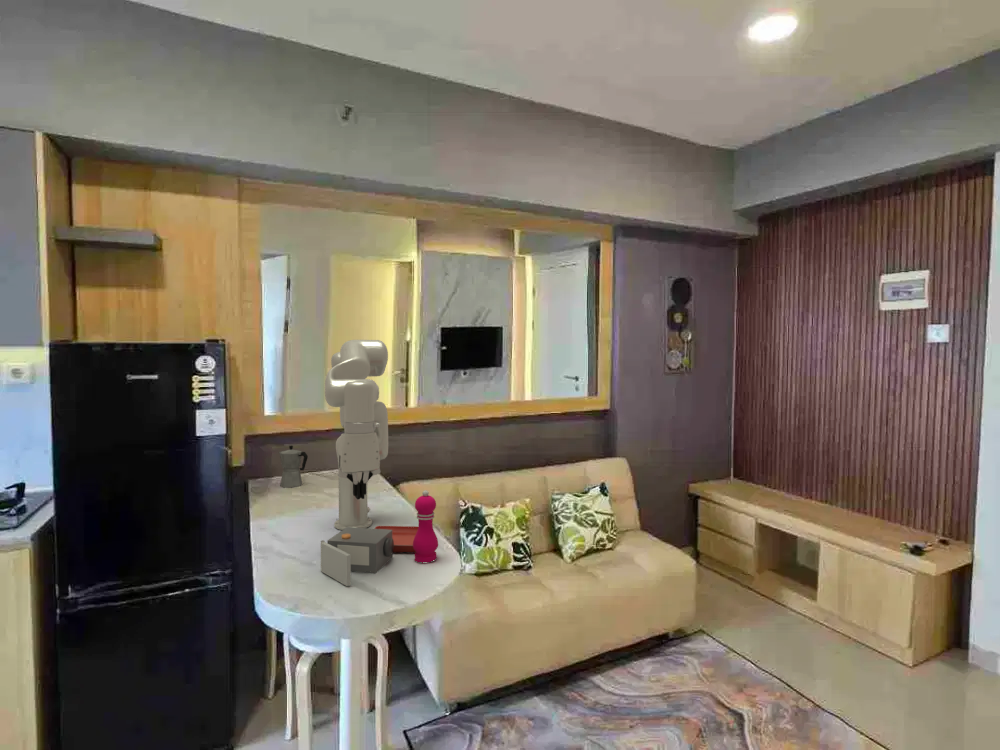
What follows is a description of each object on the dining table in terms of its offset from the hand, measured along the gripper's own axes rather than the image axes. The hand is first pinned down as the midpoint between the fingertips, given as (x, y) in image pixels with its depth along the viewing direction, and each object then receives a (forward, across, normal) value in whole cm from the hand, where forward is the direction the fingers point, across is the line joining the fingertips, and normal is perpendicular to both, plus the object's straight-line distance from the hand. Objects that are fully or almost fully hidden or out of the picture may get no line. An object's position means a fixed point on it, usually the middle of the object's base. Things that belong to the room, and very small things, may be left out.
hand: (359, 497), depth 145 cm
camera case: (+21, -2, -10) cm, 23 cm away
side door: (+21, +6, -2) cm, 22 cm away
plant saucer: (+22, -17, -20) cm, 34 cm away
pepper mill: (+21, -20, -4) cm, 29 cm away
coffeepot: (+21, +3, -115) cm, 117 cm away
